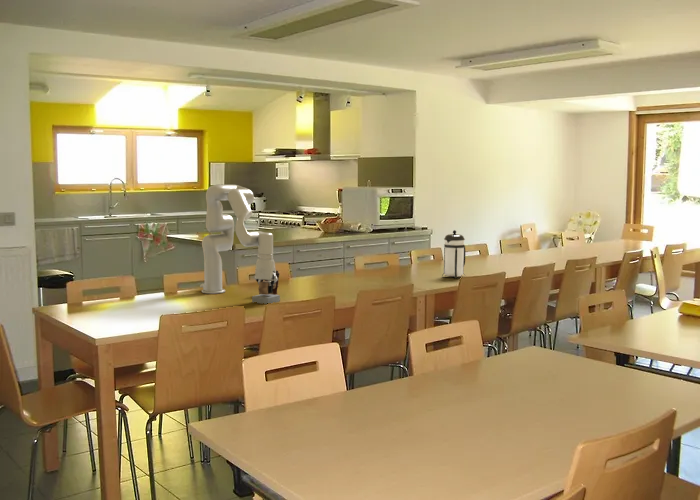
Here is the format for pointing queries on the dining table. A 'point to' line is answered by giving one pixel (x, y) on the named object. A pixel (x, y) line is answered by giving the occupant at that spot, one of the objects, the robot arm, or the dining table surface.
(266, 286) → the walnut block
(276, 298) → the plinth
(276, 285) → the coffee cup
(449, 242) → the coffee press
